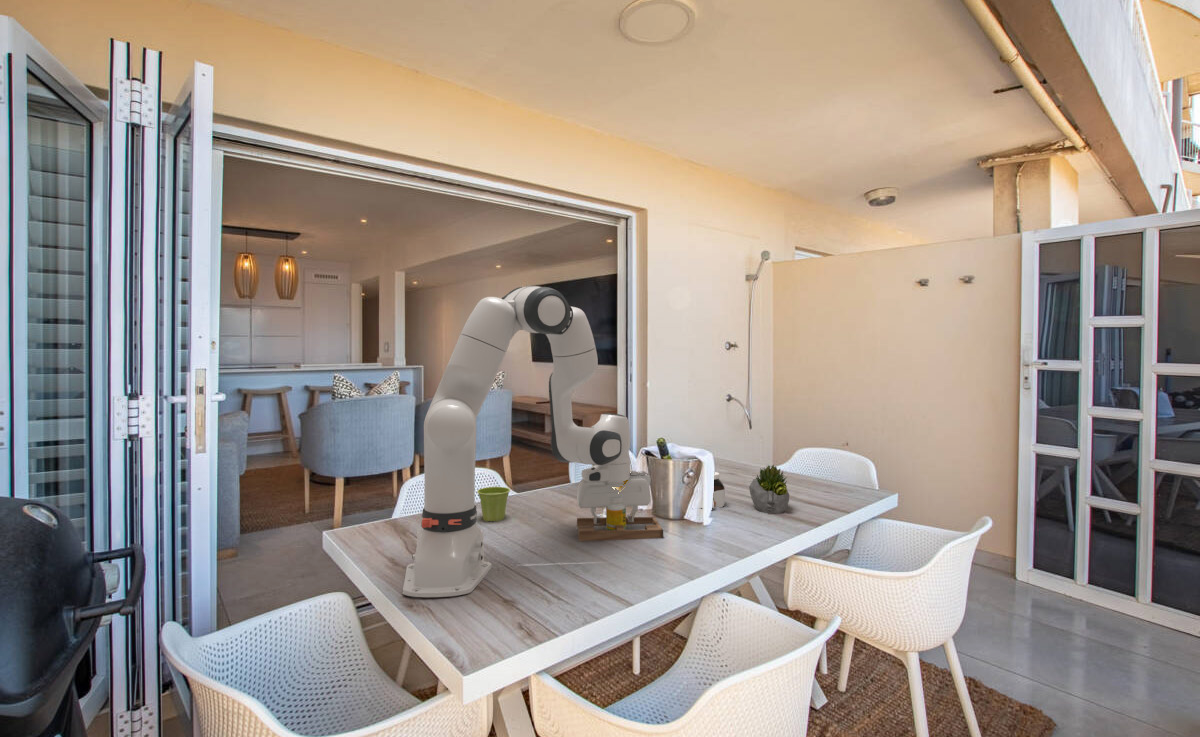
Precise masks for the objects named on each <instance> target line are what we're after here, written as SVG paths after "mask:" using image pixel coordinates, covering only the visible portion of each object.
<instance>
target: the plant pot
mask: <svg viewBox="0 0 1200 737" xmlns="http://www.w3.org/2000/svg"><path fill="white" fill-rule="evenodd" d="M476 492H477V494H478V496H479V499H480V507H481V514H482V520H483V521H484V520H485V521H484V522H487V521H490V522H492V521H496V522H500V520H501V521H503V520H504V519H505V517H506V508H507V501H508V497H509V493H510V492H511V489H510V488H508V487H506V486H505V487H504V486H490V487H489V486H488V487H483V488H479V489H478V490H477V491H476Z"/></svg>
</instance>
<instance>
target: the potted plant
mask: <svg viewBox="0 0 1200 737" xmlns="http://www.w3.org/2000/svg"><path fill="white" fill-rule="evenodd" d="M787 478H788V476H786V477H785V476H784V471H783V470H782V471H781V468H778V467H777V466H776V465H775V466H774V464H772V465H769V464H768V465H767V466H766V467H763V468H762V467H760V469H759V475H758V474H756V476H755V478H753V479H752V481H751V483H750V485H749V487H748V489H749V495H750V497H751V501H752V503H753V505H754V508H755V510H757V511H759V512H761V513H764V514H771V515H772V514H773V515H774V514H775V515H776V514H779V515H780V514H782V513H784V512H785V510H786V509H787V507H788V505H789V502H790V492H789V491H788V488H787V485H786V484H787V483H788V481H787V480H786V479H787Z"/></svg>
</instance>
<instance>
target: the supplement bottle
mask: <svg viewBox="0 0 1200 737" xmlns="http://www.w3.org/2000/svg"><path fill="white" fill-rule="evenodd" d="M622 502H623V497H612V498H610V503H611V505H609V506H608V507H605V509H606V510H605V514H606V515H605V518H606V524H607V525H606V530H615V525H623V527H624V529H625V530H627V524H626V517H627V512H626V511H627V506H625V505H624V504H622Z"/></svg>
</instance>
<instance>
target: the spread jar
mask: <svg viewBox="0 0 1200 737" xmlns="http://www.w3.org/2000/svg"><path fill="white" fill-rule="evenodd" d="M714 472H715V474H714V493H713V509H714V508H719V507H721V508H724V507H725V504H726V489H725V488H726V487H725V485H724V483H723V482H722V481H721V480H720V473H719V472H717V471H714ZM723 506H724V507H723Z"/></svg>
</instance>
